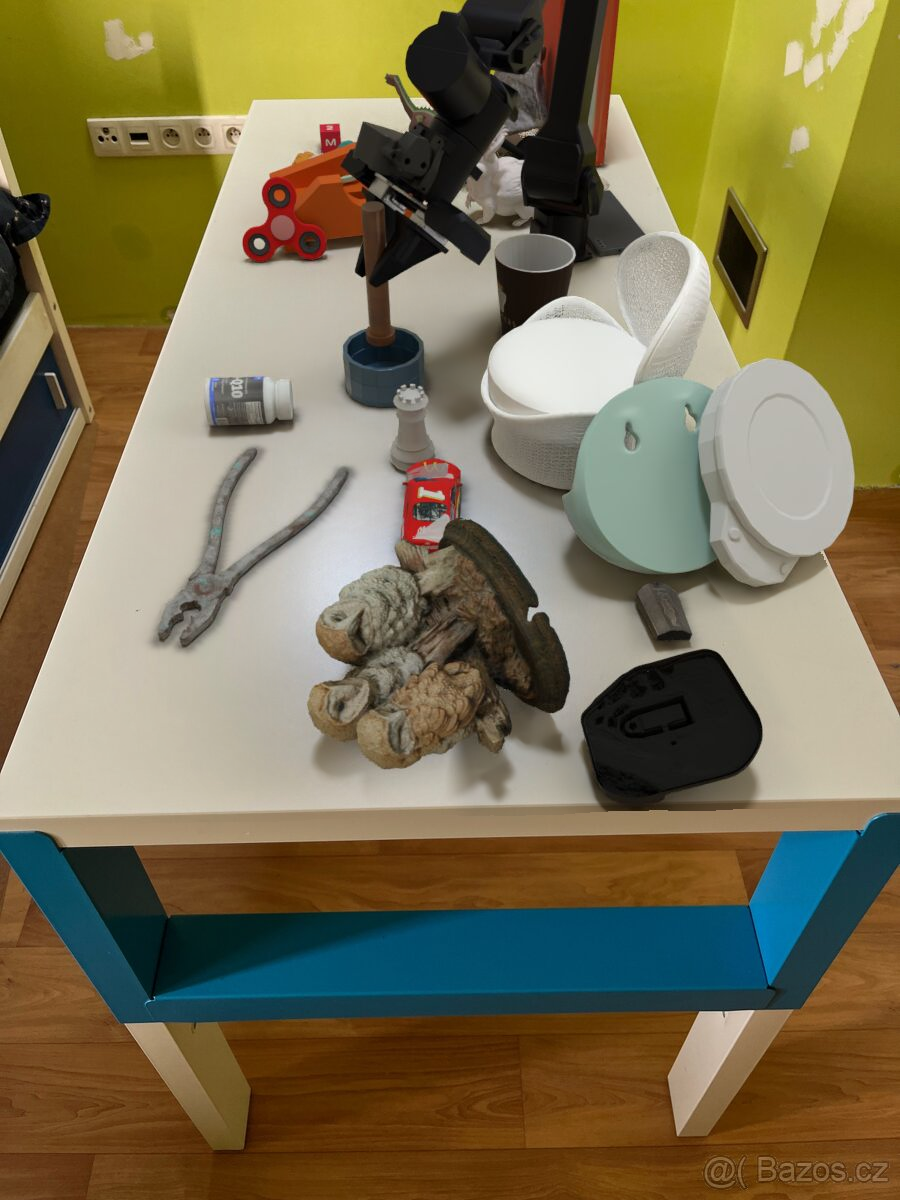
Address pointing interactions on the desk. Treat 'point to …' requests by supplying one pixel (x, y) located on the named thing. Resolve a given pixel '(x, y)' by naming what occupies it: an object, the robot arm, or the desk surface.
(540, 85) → the fossil
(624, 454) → the planter
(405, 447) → the rook chess piece
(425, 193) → the robot arm
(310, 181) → the tape dispenser
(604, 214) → the smartphone
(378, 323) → the brown rod with base
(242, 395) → the pill bottle
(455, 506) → the race car
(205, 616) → the pliers
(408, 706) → the owl figurine
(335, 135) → the red letter cube
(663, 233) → the chair
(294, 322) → the desk surface
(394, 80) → the dinosaur
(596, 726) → the black plastic housing
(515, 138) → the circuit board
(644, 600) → the block
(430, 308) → the desk surface
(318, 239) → the toy
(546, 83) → the file binder
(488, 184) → the figurine
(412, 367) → the bowl
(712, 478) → the lid
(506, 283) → the coffee mug
